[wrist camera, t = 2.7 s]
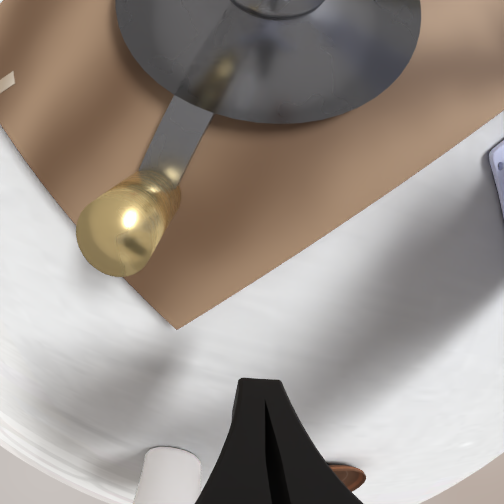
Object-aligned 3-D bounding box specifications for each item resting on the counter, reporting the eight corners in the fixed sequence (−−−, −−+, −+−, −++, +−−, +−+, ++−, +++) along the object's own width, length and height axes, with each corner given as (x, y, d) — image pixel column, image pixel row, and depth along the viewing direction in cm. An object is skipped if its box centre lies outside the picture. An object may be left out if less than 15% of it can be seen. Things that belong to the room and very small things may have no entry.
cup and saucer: (329, 493, 31) (336, 530, 25) (243, 492, 29) (244, 535, 23) (382, 453, 26) (397, 498, 20) (281, 453, 24) (288, 510, 18)
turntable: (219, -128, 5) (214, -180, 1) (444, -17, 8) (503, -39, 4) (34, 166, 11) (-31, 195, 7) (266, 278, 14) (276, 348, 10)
